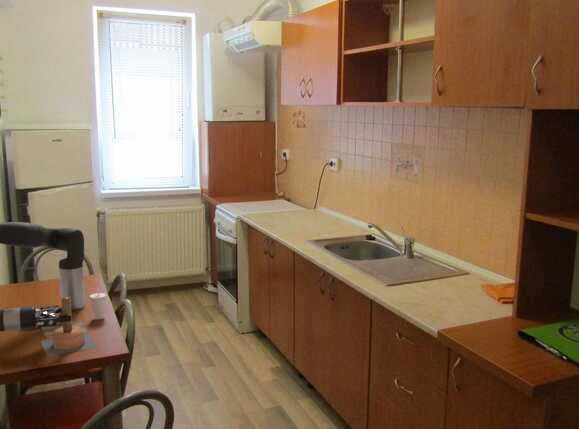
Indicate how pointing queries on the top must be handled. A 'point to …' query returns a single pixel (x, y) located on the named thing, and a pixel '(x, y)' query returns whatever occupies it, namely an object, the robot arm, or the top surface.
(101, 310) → the smoothie
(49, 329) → the clear flat panel
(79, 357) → the top surface
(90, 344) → the slate mat
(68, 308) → the peg on base plate
